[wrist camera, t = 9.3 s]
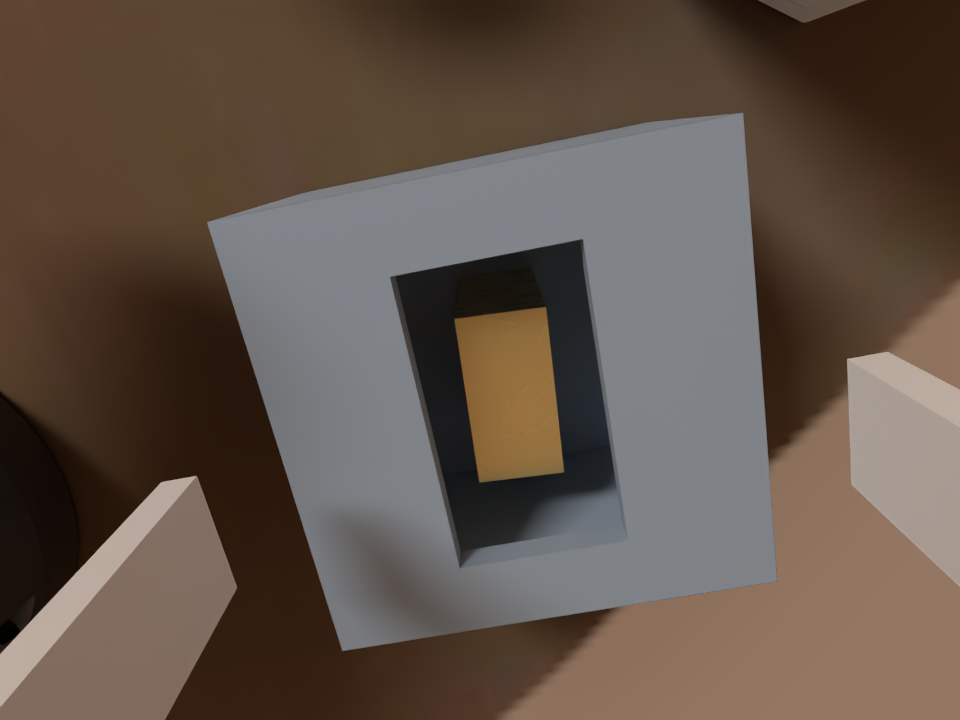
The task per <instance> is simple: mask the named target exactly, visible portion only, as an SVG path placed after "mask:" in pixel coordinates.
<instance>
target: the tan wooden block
mask: <svg viewBox="0 0 960 720" xmlns="http://www.w3.org/2000/svg"><path fill="white" fill-rule="evenodd" d="M454 320H455V326H456V333H457V339H458V346H459V352H460V359H461V366H462V372H463V379H464V385H465V392H466V398H467V405H468V411H469V418H470V425H471V431H472V438H473V444H474V451H475V457H476V464H477V470H478V477H479V483H480V482H488V481H496V480H505V479H513V478H522V477H530V476H538V475H547V474H555V473H563V472H564V466H563V457H562V448H561V439H560V430H559V420H558V411H557V402H556V393H555V384H554V375H553V365H552V356H551V347H550V338H549V329H548V320H547V311H546V305H545V303H544V300H543V297H542V295H541V292H540V289H539V286H538V284H537V281H536V278H535V276H534V273H533V270H532V268H531V267H528V268H520V269H513V270H505V271H498V272H490V273H483V274H476V275H468V276H461V281H460V287H459V293H458V300H457V306H456V312H455V318H454Z"/></svg>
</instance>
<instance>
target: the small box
mask: <svg viewBox="0 0 960 720" xmlns="http://www.w3.org/2000/svg"><path fill="white" fill-rule="evenodd" d="M758 1H760V2H762V3H764V4H766V5H768V6H770V7H772V8H774V9H776V10H778V11H780V12H782V13H784V14H786V15H788V16H790V17H792V18H794V19H796V20H798V21H800V22H803V23H806V22H810V21H812V20H815V19H817V18H820V17H822V16H825V15H828V14H831V13H833V12H835V11H838V10H841V9H844V8H846V7H849V6H852V5H854V4H857V3H860V2H863V1H866V0H758Z"/></svg>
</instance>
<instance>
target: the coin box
mask: <svg viewBox="0 0 960 720" xmlns="http://www.w3.org/2000/svg"><path fill="white" fill-rule="evenodd" d="M207 223H208V227H209V230H210V233H211V236H212V239H213V243H214V246H215V249H216V252H217V255H218V258H219V262H220V265H221V268H222V271H223V274H224V277H225V281H226V284H227V287H228V290H229V293H230V296H231V300H232V303H233V306H234V309H235V312H236V315H237V319H238V322H239V325H240V328H241V331H242V334H243V338H244V341H245V344H246V347H247V350H248V353H249V357H250V360H251V363H252V366H253V369H254V372H255V376H256V379H257V382H258V385H259V388H260V391H261V395H262V398H263V401H264V404H265V407H266V410H267V414H268V417H269V420H270V423H271V426H272V430H273V433H274V436H275V439H276V442H277V445H278V449H279V452H280V455H281V458H282V461H283V464H284V468H285V471H286V474H287V477H288V480H289V483H290V487H291V490H292V493H293V496H294V499H295V502H296V506H297V509H298V512H299V515H300V518H301V521H302V525H303V528H304V531H305V534H306V537H307V540H308V544H309V547H310V550H311V553H312V556H313V559H314V563H315V566H316V569H317V572H318V575H319V578H320V582H321V585H322V588H323V591H324V594H325V597H326V601H327V604H328V607H329V610H330V613H331V617H332V620H333V623H334V626H335V629H336V632H337V636H338V639H339V642H340V645H341V648H342V651H346V650H352V649H358V648H364V647H371V646H377V645H383V644H389V643H396V642H402V641H408V640H414V639H421V638H427V637H433V636H439V635H446V634H452V633H458V632H464V631H471V630H477V629H483V628H489V627H496V626H502V625H508V624H515V623H521V622H527V621H533V620H540V619H546V618H552V617H558V616H565V615H571V614H577V613H583V612H590V611H596V610H602V609H608V608H615V607H621V606H627V605H633V604H640V603H646V602H652V601H658V600H665V599H671V598H677V597H683V596H689V595H696V594H702V593H708V592H715V591H720V590H727V589H733V588H740V587H746V586H752V585H758V584H764V583H770V582H777V569H776V556H775V543H774V529H773V515H772V502H771V488H770V474H769V460H768V447H767V433H766V420H765V406H764V392H763V379H762V365H761V351H760V338H759V324H758V311H757V297H756V283H755V270H754V256H753V243H752V229H751V215H750V202H749V188H748V174H747V161H746V147H745V134H744V120H743V113H737V114H727V115H717V116H707V117H697V118H687V119H676V120H666V121H656V122H647V123H642V124H637V125H632V126H627V127H622V128H617V129H612V130H608V131H603V132H598V133H593V134H588V135H583V136H578V137H573V138H569V139H564V140H559V141H554V142H549V143H544V144H539V145H534V146H530V147H525V148H520V149H515V150H510V151H505V152H500V153H495V154H491V155H486V156H481V157H476V158H471V159H466V160H461V161H456V162H451V163H447V164H442V165H437V166H432V167H427V168H422V169H417V170H412V171H408V172H403V173H398V174H393V175H388V176H383V177H378V178H373V179H369V180H364V181H359V182H354V183H349V184H344V185H339V186H334V187H330V188H325V189H320V190H315V191H310V192H305V193H302V194H299V195H296V196H292V197H289V198H286V199H282V200H279V201H276V202H272V203H269V204H266V205H263V206H259V207H256V208H253V209H249V210H246V211H243V212H239V213H236V214H233V215H230V216H226V217H223V218H220V219H216V220H213V221H210V222H207ZM528 267H531V268H532V270H533V273H534V276H535V278H536V281H537V284H538V286H539V289H540V292H541V295H542V297H543V300H544V303H545V305H546V311H547V320H548V329H549V338H550V347H551V356H552V365H553V375H554V384H555V393H556V402H557V411H558V420H559V430H560V439H561V448H562V457H563V466H564V472H563V473H555V474H547V475H538V476H530V477H522V478H513V479H505V480H496V481H488V482H480V483H479V477H478V470H477V464H476V457H475V451H474V444H473V438H472V431H471V425H470V418H469V411H468V405H467V398H466V392H465V385H464V379H463V372H462V366H461V359H460V352H459V346H458V339H457V333H456V326H455V320H454V318H455V312H456V306H457V300H458V293H459V287H460V281H461V276H468V275H476V274H483V273H490V272H498V271H505V270H513V269H520V268H528Z"/></svg>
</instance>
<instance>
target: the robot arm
mask: <svg viewBox="0 0 960 720" xmlns="http://www.w3.org/2000/svg"><path fill="white" fill-rule="evenodd" d="M847 371H848V401H849V430H850V431H849V432H850V463H851V485H852V486H853V487H854V488H855V489H857V491H858V492H859V493H861V494H862V495H863V496H864V497H865V498H866V499H867V500H868V501H869V502H870V503H871V504H872V505H873V506H874V507H875V508H876V509H877V510H879V511H880V512H881V513H882V514H883V515H884V516H885V517H886V518H887V519H888V520H889V521H890V522H891V523H892V524H893V525H895V526H896V527H897V528H898V529H899V530H900V531H901V532H902V533H903V534H904V535H905V536H906V537H907V538H908V539H910V541H911V542H913V543H914V544H915V545H916V546H917V547H918V548H919V549H920V550H921V551H922V552H923V553H924V554H925V555H926V556H928V557H929V558H930V559H931V560H932V561H933V562H934V563H935V564H936V565H937V566H938V567H939V568H940V569H941V570H942V571H943V572H945V573H946V574H947V575H948V576H949V577H950V578H951V579H952V580H953V581H954V582H955V583H956V584H957V585H958V586H959V587H960V390H959V389H957V388H955V387H953V386H951V385H949V384H948V383H945V382H944V381H942V380H940V379H938V378H936V377H934V376H932V375H931V374H929V373H927V372H925V371H923V370H921V369H919V368H917V367H915V366H914V365H912V364H910V363H908V362H906V361H904V360H902V359H900V358H898V357H896V356H895V355H893V354H891V353H889V352H884V353H878V354H873V355H867V356H862V357H856V358H850V359H847ZM77 555H78V530H77V523H76V516H75V512H74V507H73V504H72V500H71V497H70V494H69V491H68V488H67V486H66V483H65V481H64V479H63V477H62V474H61V472H60V470H59V468H58V466H57V465H56V463H55V461H54V459H53V458H52V456H51V454H50V453H49V451H48V450H47V448H46V447H45V445H44V444H43V442H42V441H41V440H40V438H39V437H38V436H37V434H36V433H35V432H34V431H33V430H32V428H31V427H30V426H29V425H28V424H27V423H26V421H25V420H24V419H23V418H22V417H21V416H20V415H19V414H18V413H17V412H16V411H15V410H14V409H13V408H12V407H11V406H10V405H8V404H7V403H6V402H5V401H4V400H3V399H2V398H1V397H0V720H165V719H166V717H167V715H168V713H169V712H170V710H171V708H172V706H173V704H174V702H175V701H176V699H177V697H178V695H179V693H180V691H181V690H182V688H183V686H184V684H185V682H186V680H187V679H188V677H189V675H190V673H191V671H192V670H193V668H194V666H195V664H196V662H197V660H198V659H199V657H200V655H201V653H202V651H203V649H204V648H205V646H206V644H207V642H208V640H209V638H210V637H211V635H212V633H213V631H214V629H215V628H216V626H217V624H218V622H219V620H220V618H221V617H222V615H223V613H224V611H225V609H226V607H227V606H228V604H229V602H230V600H231V598H232V597H233V595H234V593H235V591H236V589H237V585H236V583H235V580H234V577H233V574H232V572H231V569H230V566H229V563H228V561H227V558H226V555H225V552H224V549H223V547H222V544H221V541H220V538H219V536H218V533H217V530H216V527H215V524H214V522H213V519H212V516H211V513H210V511H209V508H208V505H207V502H206V500H205V497H204V494H203V491H202V488H201V486H200V483H199V480H198V477H197V476H193V477H187V478H182V479H176V480H170V481H165V482H161V483H160V484H159V485H158V486H157V487H156V488H155V489H154V491H153V492H152V493H151V494H150V495H149V496H148V497H147V498H146V499H145V500H144V501H143V502H142V503H141V504H140V505H139V507H138V508H137V509H136V510H135V511H134V512H133V513H132V514H131V515H130V516H129V517H128V518H127V519H126V520H125V521H124V523H123V524H122V525H121V526H120V527H119V528H118V529H117V530H116V531H115V532H114V533H113V534H112V535H111V536H110V537H109V539H108V540H107V541H106V542H105V543H104V544H103V545H102V546H101V547H100V548H99V549H98V550H97V551H96V552H95V553H94V555H93V556H92V557H91V558H90V559H89V560H88V561H87V562H86V563H85V564H84V565H83V566H82V567H81V568H80V569H79V571H78V572H77V573H76V574H75V575H74V572H75V568H76V562H77Z"/></svg>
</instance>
